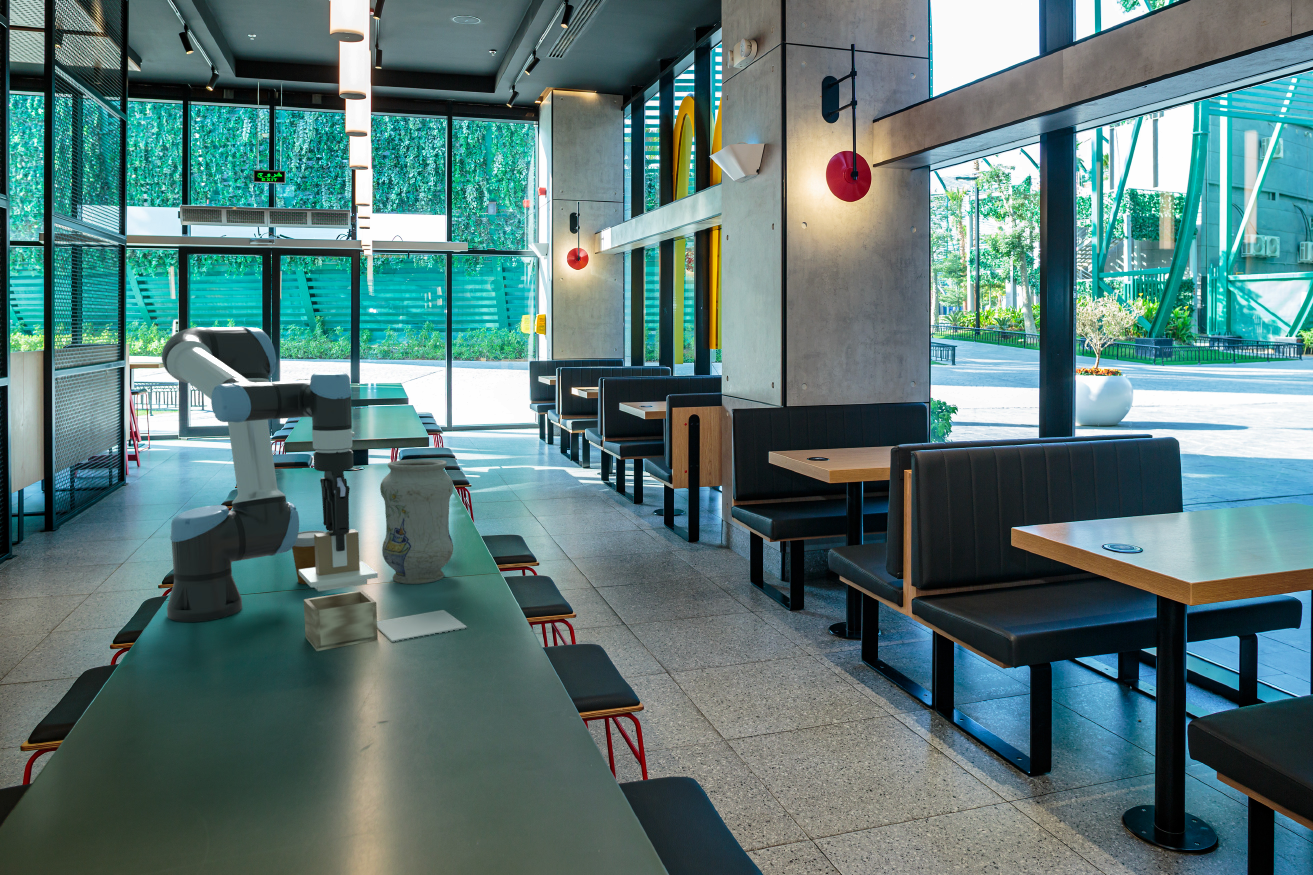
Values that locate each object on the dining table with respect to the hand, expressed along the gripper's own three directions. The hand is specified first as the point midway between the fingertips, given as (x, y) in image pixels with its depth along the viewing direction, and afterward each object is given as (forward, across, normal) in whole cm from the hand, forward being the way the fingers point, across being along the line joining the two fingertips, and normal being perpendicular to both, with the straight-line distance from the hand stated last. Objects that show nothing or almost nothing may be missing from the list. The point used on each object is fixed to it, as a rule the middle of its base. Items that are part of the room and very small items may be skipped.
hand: (337, 563), depth 187 cm
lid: (+4, 0, 0) cm, 4 cm away
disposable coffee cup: (+16, +48, -5) cm, 51 cm away
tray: (+16, -2, -16) cm, 23 cm away
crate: (+16, 0, 0) cm, 16 cm away
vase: (+16, +36, -29) cm, 49 cm away
